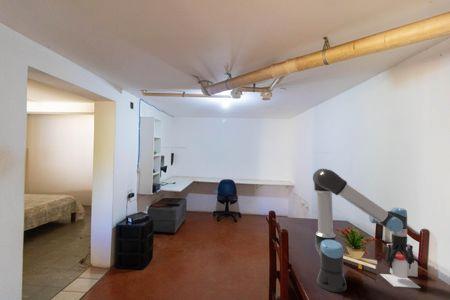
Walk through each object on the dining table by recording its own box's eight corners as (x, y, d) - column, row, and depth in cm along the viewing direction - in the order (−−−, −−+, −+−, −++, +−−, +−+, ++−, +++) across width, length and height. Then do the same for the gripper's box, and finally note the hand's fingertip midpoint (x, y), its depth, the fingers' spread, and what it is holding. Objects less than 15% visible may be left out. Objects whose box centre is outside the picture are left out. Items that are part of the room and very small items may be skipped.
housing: (403, 275, 148) (403, 261, 149) (397, 271, 154) (397, 257, 155) (417, 276, 148) (417, 262, 148) (410, 271, 154) (410, 257, 154)
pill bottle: (392, 270, 148) (392, 252, 148) (408, 274, 143) (407, 255, 143) (390, 275, 142) (390, 256, 142) (407, 279, 137) (407, 259, 137)
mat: (394, 286, 136) (394, 286, 136) (380, 274, 149) (380, 273, 149) (420, 288, 134) (420, 287, 135) (403, 275, 148) (403, 275, 148)
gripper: (384, 236, 140) (384, 276, 139) (422, 237, 138) (422, 277, 138) (377, 232, 147) (377, 269, 147) (413, 233, 146) (413, 271, 145)
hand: (399, 273), depth 142 cm, fingers closed on pill bottle, 8 cm apart
